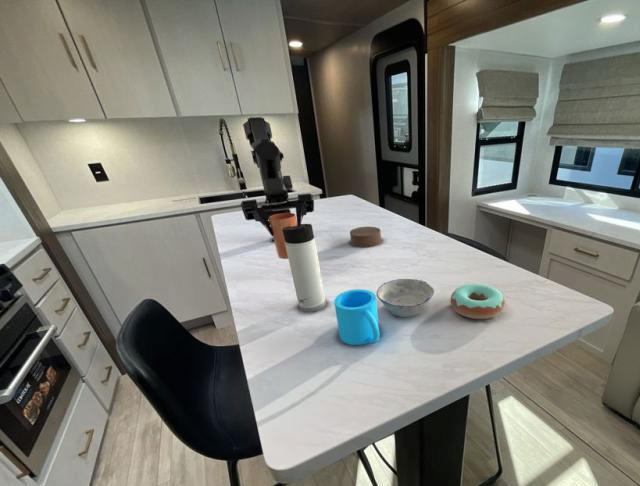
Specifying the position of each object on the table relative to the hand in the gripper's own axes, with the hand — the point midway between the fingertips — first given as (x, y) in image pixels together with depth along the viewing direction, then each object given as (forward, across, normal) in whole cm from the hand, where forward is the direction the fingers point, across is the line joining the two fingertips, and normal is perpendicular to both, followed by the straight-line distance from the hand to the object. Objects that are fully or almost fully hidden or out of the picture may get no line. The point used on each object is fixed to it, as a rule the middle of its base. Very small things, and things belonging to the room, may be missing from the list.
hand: (286, 233), depth 87 cm
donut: (+36, +36, -19) cm, 54 cm away
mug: (+36, +9, -18) cm, 41 cm away
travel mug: (+24, +2, -6) cm, 24 cm away
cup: (+4, 0, +6) cm, 7 cm away
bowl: (+31, +21, -14) cm, 40 cm away
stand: (-4, +27, +21) cm, 35 cm away
